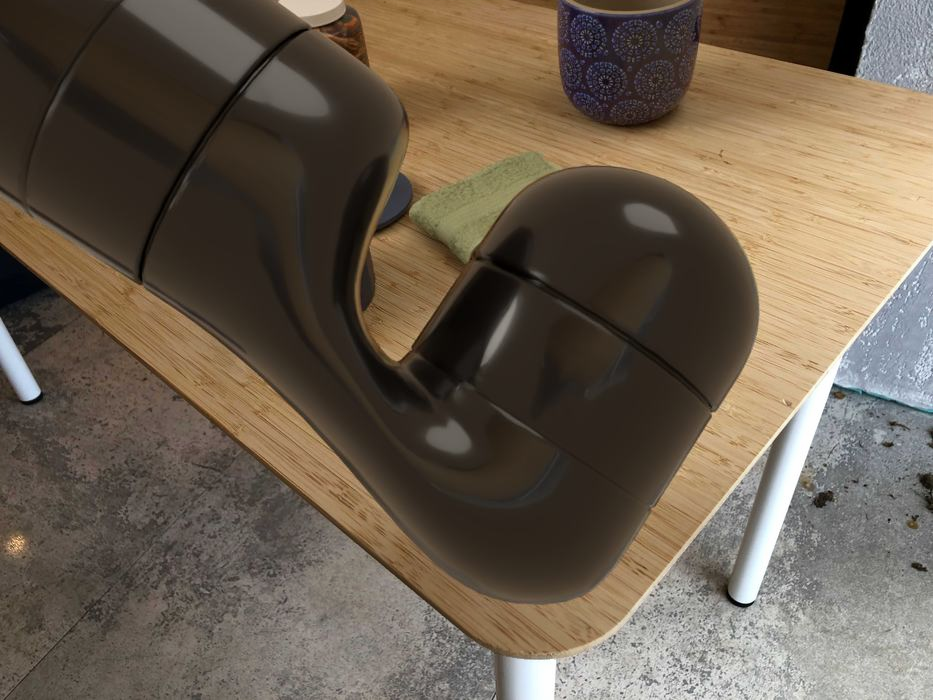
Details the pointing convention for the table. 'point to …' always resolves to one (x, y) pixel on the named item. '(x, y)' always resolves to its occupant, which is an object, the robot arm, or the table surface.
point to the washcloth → (477, 201)
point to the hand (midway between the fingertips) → (490, 378)
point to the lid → (397, 201)
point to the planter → (627, 56)
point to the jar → (333, 23)
